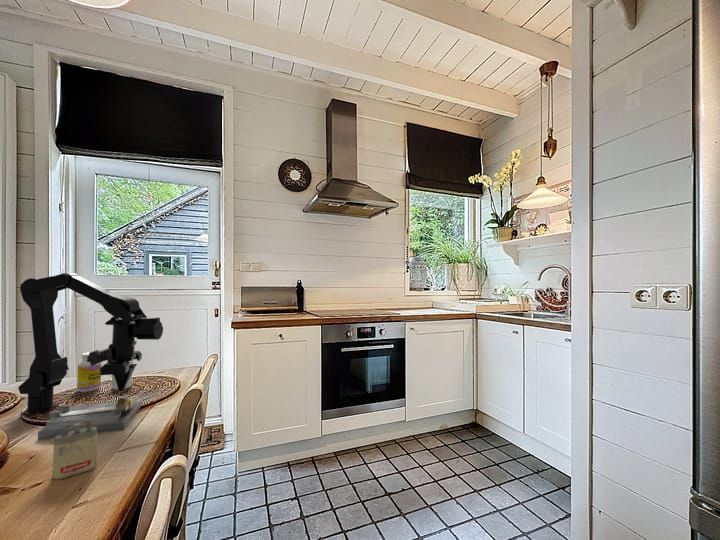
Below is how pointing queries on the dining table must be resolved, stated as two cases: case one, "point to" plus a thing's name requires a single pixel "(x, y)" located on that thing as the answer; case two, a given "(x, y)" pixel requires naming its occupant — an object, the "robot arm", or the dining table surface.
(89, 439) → the pale red-labelled box
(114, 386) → the white cup
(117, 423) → the grey stone tray
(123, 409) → the strap
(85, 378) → the supplement bottle
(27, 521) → the dining table surface
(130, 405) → the pale yellow lumpy block
